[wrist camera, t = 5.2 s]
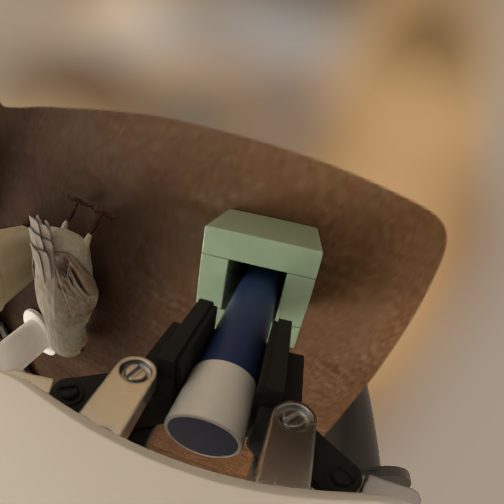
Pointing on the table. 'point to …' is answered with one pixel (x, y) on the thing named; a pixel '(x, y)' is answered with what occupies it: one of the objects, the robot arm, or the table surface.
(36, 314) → the candle
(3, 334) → the stone
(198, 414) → the marker
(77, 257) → the decorative bird
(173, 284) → the table surface
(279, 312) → the pen stand
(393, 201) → the table surface
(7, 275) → the flower pot
